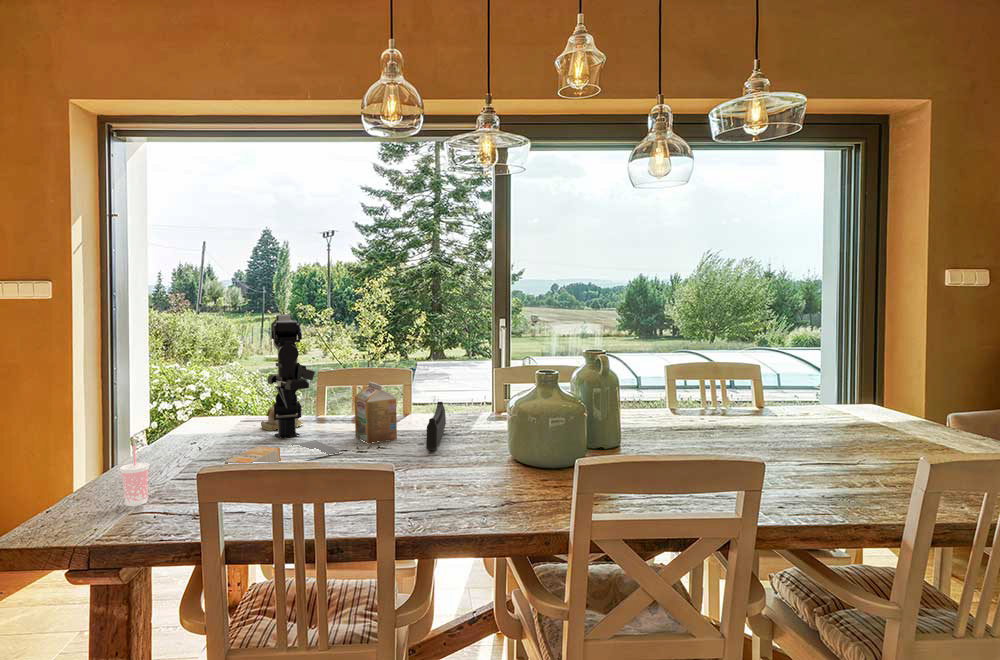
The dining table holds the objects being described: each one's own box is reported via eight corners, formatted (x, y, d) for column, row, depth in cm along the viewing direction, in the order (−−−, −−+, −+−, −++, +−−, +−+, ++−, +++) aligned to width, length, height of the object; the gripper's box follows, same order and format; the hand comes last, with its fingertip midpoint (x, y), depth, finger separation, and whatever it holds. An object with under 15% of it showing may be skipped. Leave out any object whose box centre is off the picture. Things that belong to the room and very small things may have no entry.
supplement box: (280, 447, 175) (248, 462, 163) (281, 463, 176) (249, 479, 163) (256, 445, 178) (223, 460, 165) (258, 461, 178) (225, 477, 166)
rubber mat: (238, 456, 186) (238, 454, 186) (315, 441, 203) (315, 440, 203) (262, 469, 172) (262, 467, 172) (342, 453, 189) (342, 451, 189)
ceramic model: (291, 421, 234) (290, 396, 233) (308, 426, 227) (307, 399, 226) (256, 428, 223) (256, 401, 222) (273, 433, 216) (272, 405, 215)
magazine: (435, 426, 187) (444, 383, 215) (424, 426, 187) (435, 383, 215) (437, 473, 193) (446, 425, 221) (427, 473, 193) (437, 425, 221)
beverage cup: (147, 505, 145) (144, 447, 143) (117, 508, 143) (115, 450, 142) (153, 497, 150) (151, 441, 149) (125, 499, 149) (123, 443, 148)
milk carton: (396, 439, 207) (396, 384, 205) (367, 444, 201) (366, 387, 199) (384, 433, 215) (383, 380, 214) (355, 437, 209) (354, 382, 208)
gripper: (324, 360, 192) (325, 409, 193) (299, 355, 206) (300, 400, 207) (290, 363, 185) (291, 414, 186) (266, 358, 198) (267, 405, 200)
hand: (288, 408), depth 195 cm, fingers closed
